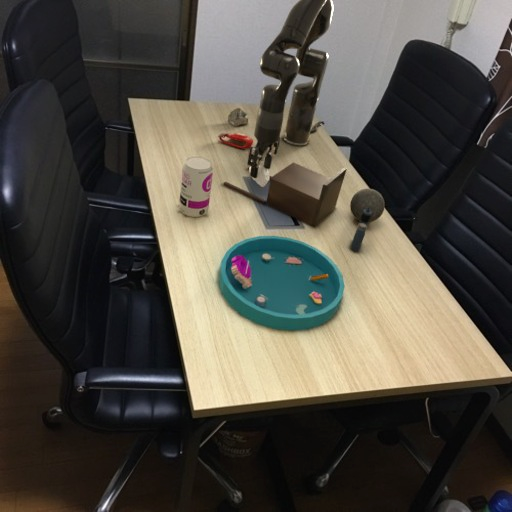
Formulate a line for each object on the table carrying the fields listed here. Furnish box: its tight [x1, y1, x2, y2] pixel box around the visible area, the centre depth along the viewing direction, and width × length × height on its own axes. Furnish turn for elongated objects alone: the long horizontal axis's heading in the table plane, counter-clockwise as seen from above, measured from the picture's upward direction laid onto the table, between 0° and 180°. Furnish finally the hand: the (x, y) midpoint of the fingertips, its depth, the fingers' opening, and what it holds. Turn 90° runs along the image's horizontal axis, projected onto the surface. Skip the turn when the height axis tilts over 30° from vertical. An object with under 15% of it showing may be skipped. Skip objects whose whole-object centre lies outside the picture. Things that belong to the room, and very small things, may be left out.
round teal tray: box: [218, 235, 345, 332], centre depth 122 cm, size 30×30×6 cm
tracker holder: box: [217, 132, 254, 150], centre depth 180 cm, size 12×4×10 cm
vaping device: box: [350, 208, 372, 253], centre depth 139 cm, size 3×5×12 cm, turn 161°
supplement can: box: [178, 155, 214, 218], centre depth 139 cm, size 8×8×15 cm
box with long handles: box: [223, 162, 347, 228], centre depth 153 cm, size 15×32×14 cm, turn 58°
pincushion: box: [248, 161, 270, 188], centre depth 157 cm, size 12×6×6 cm, turn 12°
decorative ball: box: [349, 188, 385, 223], centre depth 151 cm, size 10×10×10 cm
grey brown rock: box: [227, 107, 249, 127], centre depth 192 cm, size 4×8×7 cm, turn 108°
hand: (260, 172), depth 157 cm, fingers closed on pincushion, 7 cm apart
